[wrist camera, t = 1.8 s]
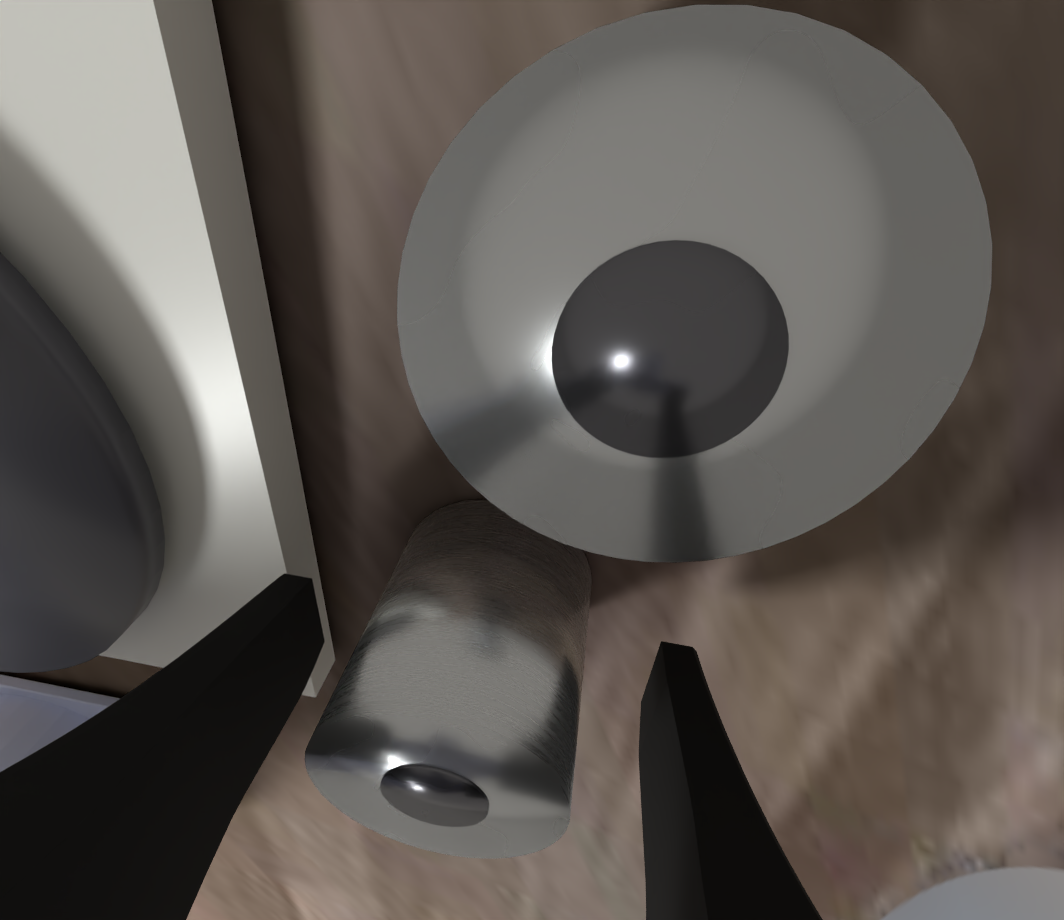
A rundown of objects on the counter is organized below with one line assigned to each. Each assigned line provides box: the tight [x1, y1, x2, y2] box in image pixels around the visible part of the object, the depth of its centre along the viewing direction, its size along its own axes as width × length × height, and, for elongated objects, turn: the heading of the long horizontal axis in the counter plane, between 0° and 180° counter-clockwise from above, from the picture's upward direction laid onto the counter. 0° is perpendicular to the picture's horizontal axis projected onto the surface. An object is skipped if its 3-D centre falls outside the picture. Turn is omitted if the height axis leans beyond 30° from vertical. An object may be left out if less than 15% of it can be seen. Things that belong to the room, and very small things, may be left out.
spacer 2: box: [397, 5, 992, 563], centre depth 7 cm, size 4×4×5 cm
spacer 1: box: [305, 500, 592, 858], centre depth 11 cm, size 4×4×5 cm
